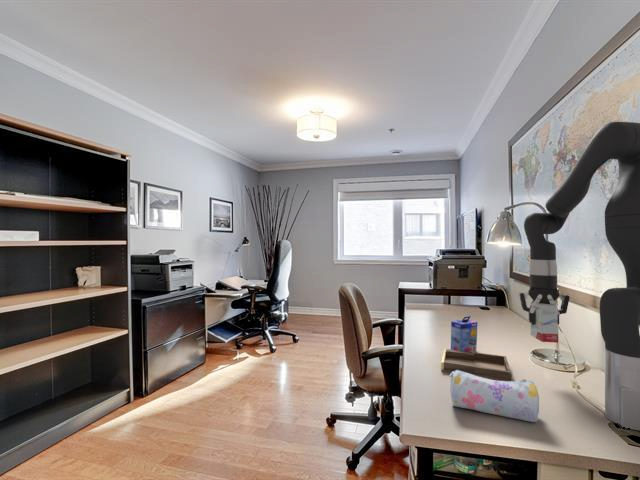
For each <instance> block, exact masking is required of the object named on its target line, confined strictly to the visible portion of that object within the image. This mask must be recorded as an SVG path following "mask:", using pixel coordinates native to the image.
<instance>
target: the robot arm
mask: <svg viewBox="0 0 640 480" xmlns="http://www.w3.org/2000/svg"><path fill="white" fill-rule="evenodd" d="M610 160H617V164H618V180H617V184H616V187H615V190H614V191H613V193H612V194H611V196H610V198H609V200H608V202H607V203H606V206H605V209H604V228H605V229H604V231H605V232H604V234H605V237H606V239H607V242H608V244H609V245H610V247H611V248H612V250H613V251H614V253H615V254H616V256H617V258H618V259H619V260H620V261H621V263H622V265H623V268H624V271H625V277H626V278H625V280H626V281H625V282H626V287H613V288H609V289H607V290H605V291H604V292H603V293H602V295H601V296H600V300H599V321H600V332H601V337H602V339H603V342H604V415H605V417H606V418H607V419H609V421H611V422H613V423H615V424H617V423H618V424H617V425H619V424H620V425H621V426H622V427H621V426H620V425H619V426H620V427H621V428H623V427H625V428H624V429H628V428H630V429H629V430H634V431H640V327H639V326H640V122H633V121H631V122H630V121H612V122H611V121H610V122H608V123H606V124H604V125H602V126H601V127H600V128H599V129H598V130H597V131H596V132H595V133H594V135H593V136H592V138H591V139H590V141H588V143H587V145H586V147H585V149H584V150H583V151H582V153H581V155H580V157H579V158H578V159H577V161H576V163H575V164H574V166H573V168H572V169H571V171H570V173H569V174H568V176H567V177H566V178H565V180H564V181H563V182H562V183H561V184H560V186H558V188H557V189H556V190H555V191H554V192H553V194H552V195H550V197H549V198H548V199H547V201H546V202H545V208H546V211H547V212H533V213H530V214H528V215H527V216H526V217H525V218H524V222H523V229H524V232H525V235H526V239H527V241H528V245H529V248H530V249H529V254H530V255H529V257H530V258H529V259H530V261H529V269H528V272H529V289H528V291H524V292H522V291H519V293H518V296H519V300H520V305H521V308H522V310H523V311H525V312H527V313H528V321H529V323H531V324H532V325H535V314H534V311H535V309H536V307H537V303H540V304H541V303H542V304H551V305H556V306H557V304H556V301H557V299H558V298H559V300H560V301H561V303H560V308H559V309H558V308H557V317H558V326H559V325H560V315H562V314H567V311H568V306H569V303H570V298H571V297H570V295H569V294H566V293H564V294H562V293H560V292H559V291H558V266H557V265H558V264H557V260H556V259H557V247H556V244H555V243H554V242H552V241H549V240H547V239H546V237H545V235H554V234H555V233H558V232H559V231H560V230H562V228H563V227H564V225H565V223H566V221H567V219H568V217H569V215H570V213H571V212H572V211H574V209H575V208H576V207H578V206H579V204H580V203H582V202H583V200H584V199H585V197H586V196H587V194H588V192H589V189H590V185H591V183H592V179H593V177H594V175H595V174H596V172H597V171H598V170H599V168H601V167H602V166H603V165H604V164H605V163H607V162H608V161H610ZM528 297H530V298H531V299H532V300H531V301H532V303H531V305H530V304H529V307H528V306H527V305H528V304H527V300H526V299H528ZM533 302H534V303H533Z"/></svg>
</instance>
